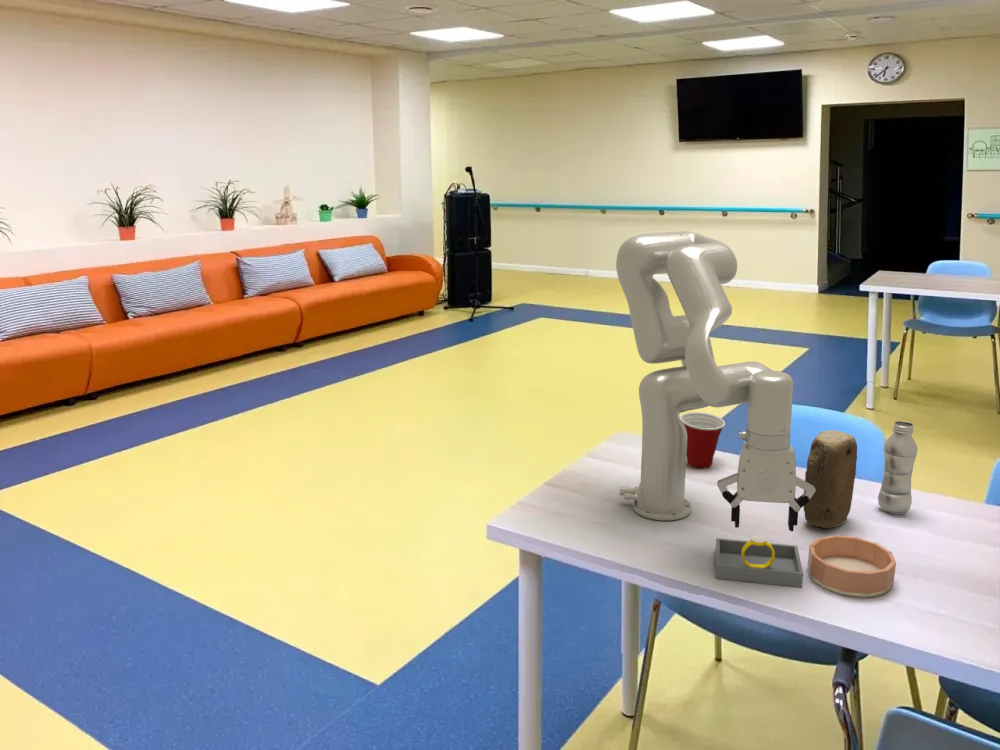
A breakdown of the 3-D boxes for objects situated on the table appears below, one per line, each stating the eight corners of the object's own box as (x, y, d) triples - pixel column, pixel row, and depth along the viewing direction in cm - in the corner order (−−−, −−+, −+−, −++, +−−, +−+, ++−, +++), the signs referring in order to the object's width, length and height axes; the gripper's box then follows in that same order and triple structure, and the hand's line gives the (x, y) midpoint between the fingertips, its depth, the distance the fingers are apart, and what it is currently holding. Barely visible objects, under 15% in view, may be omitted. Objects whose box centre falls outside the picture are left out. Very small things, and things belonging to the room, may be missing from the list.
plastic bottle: (902, 520, 184) (913, 431, 178) (870, 510, 189) (881, 423, 183) (915, 511, 188) (927, 424, 182) (884, 502, 193) (895, 416, 187)
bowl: (812, 592, 156) (815, 568, 155) (804, 555, 170) (806, 532, 168) (899, 601, 153) (902, 576, 152) (883, 562, 166) (886, 539, 165)
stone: (828, 537, 177) (837, 444, 171) (795, 526, 182) (804, 436, 176) (854, 519, 185) (864, 430, 179) (822, 509, 189) (831, 422, 184)
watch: (742, 571, 164) (742, 542, 162) (740, 564, 167) (740, 536, 165) (775, 571, 163) (775, 542, 161) (773, 563, 166) (773, 535, 164)
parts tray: (715, 578, 161) (716, 565, 161) (715, 550, 172) (716, 538, 171) (801, 587, 158) (803, 573, 157) (796, 558, 168) (797, 545, 168)
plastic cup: (709, 476, 208) (712, 429, 204) (669, 465, 215) (671, 419, 211) (730, 463, 215) (733, 417, 212) (691, 453, 222) (694, 408, 219)
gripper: (719, 443, 156) (715, 531, 160) (821, 448, 152) (814, 538, 156) (718, 430, 163) (715, 515, 167) (816, 434, 159) (810, 521, 163)
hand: (763, 526), depth 162 cm, fingers open, 9 cm apart
